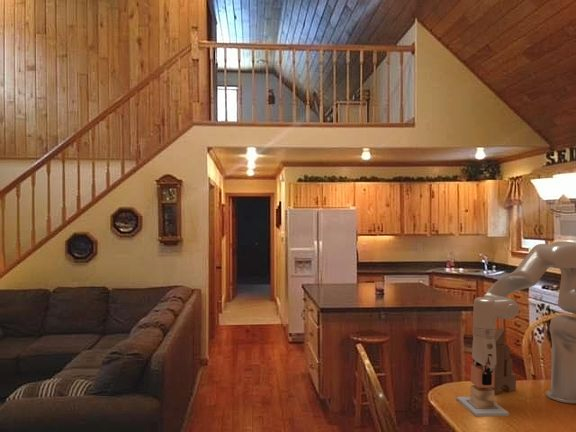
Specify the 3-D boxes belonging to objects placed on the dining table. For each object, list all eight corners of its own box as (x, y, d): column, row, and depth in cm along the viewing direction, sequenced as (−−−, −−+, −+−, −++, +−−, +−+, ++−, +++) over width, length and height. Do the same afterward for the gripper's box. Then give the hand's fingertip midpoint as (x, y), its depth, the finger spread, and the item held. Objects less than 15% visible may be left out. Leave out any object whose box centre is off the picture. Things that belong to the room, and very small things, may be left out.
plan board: (487, 399, 196) (487, 396, 196) (508, 415, 181) (509, 412, 180) (456, 399, 195) (456, 396, 195) (475, 416, 179) (475, 413, 179)
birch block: (485, 401, 191) (486, 385, 191) (493, 407, 185) (494, 390, 185) (470, 401, 191) (470, 385, 191) (477, 407, 185) (478, 391, 185)
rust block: (486, 381, 191) (486, 365, 191) (494, 387, 185) (494, 370, 185) (470, 381, 191) (471, 365, 190) (478, 387, 185) (478, 370, 184)
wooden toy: (501, 385, 213) (503, 324, 212) (516, 390, 207) (517, 327, 206) (475, 390, 205) (476, 327, 205) (488, 396, 200) (490, 331, 199)
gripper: (505, 338, 179) (504, 389, 180) (482, 326, 196) (481, 374, 197) (485, 338, 179) (483, 390, 179) (463, 326, 196) (462, 374, 196)
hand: (482, 381), depth 188 cm, fingers closed on rust block, 6 cm apart
